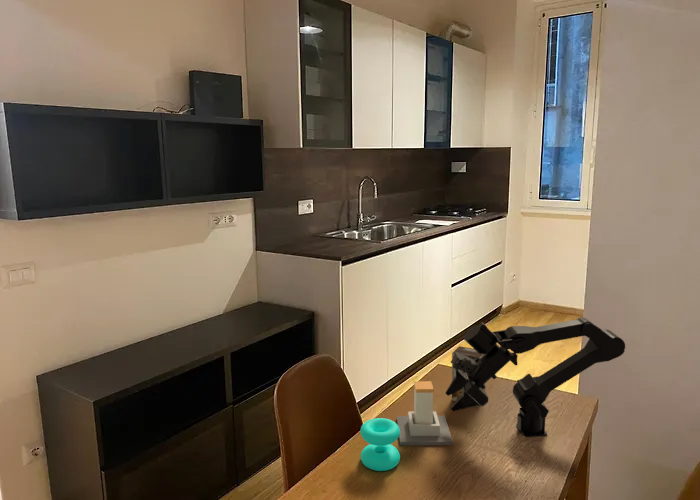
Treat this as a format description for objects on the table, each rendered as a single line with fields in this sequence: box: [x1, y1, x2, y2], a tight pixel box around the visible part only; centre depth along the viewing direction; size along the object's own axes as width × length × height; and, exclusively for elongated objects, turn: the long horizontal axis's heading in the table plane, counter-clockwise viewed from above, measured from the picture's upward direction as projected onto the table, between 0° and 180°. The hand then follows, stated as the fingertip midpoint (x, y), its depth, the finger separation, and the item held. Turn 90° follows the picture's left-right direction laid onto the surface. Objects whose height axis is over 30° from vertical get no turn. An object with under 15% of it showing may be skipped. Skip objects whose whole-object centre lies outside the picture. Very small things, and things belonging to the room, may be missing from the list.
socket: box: [396, 410, 454, 446], centre depth 152 cm, size 14×14×4 cm
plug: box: [413, 380, 435, 424], centre depth 151 cm, size 5×5×13 cm
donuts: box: [359, 417, 401, 472], centre depth 138 cm, size 10×10×10 cm
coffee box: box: [451, 345, 486, 408], centre depth 169 cm, size 9×6×16 cm
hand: (449, 402), depth 151 cm, fingers open, 9 cm apart
